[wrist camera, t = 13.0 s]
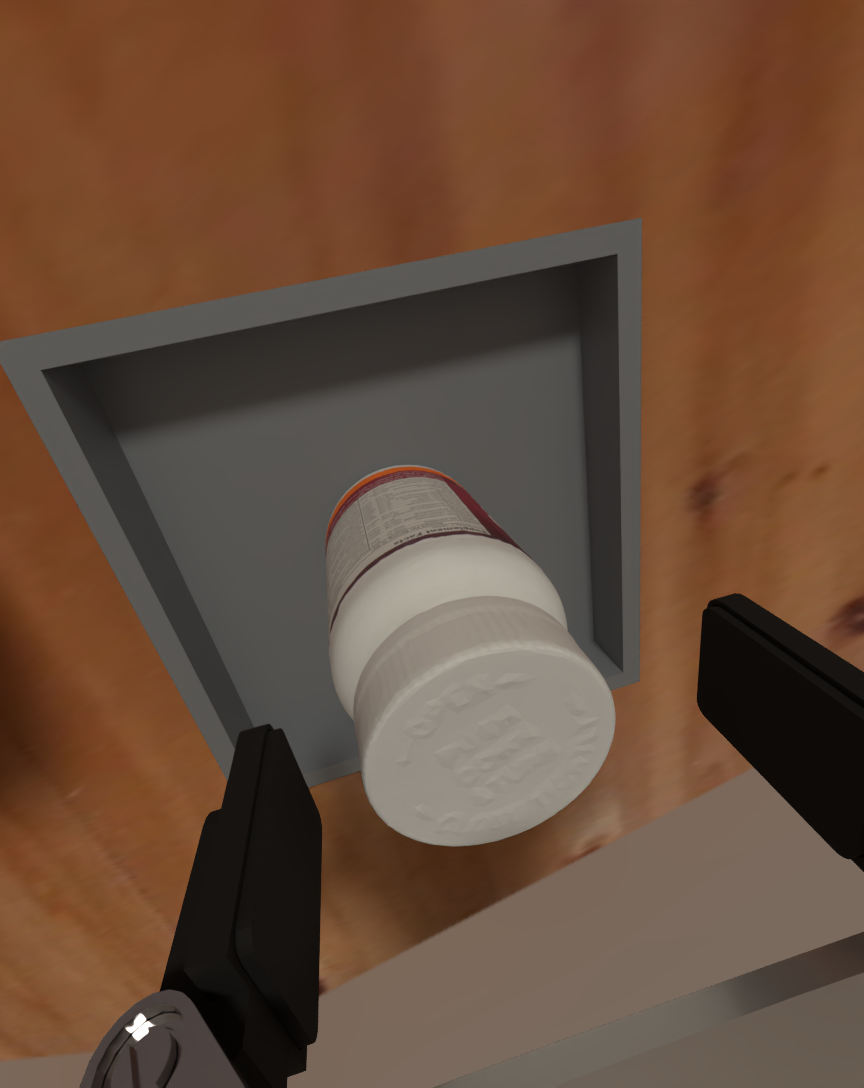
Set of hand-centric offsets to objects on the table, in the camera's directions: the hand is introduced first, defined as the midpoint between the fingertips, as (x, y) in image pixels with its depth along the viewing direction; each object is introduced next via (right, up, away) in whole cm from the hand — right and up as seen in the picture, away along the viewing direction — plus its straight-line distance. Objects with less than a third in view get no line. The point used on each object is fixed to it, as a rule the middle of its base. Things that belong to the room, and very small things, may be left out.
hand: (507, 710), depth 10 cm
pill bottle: (-3, +4, +9) cm, 10 cm away
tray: (-3, +4, +9) cm, 11 cm away
